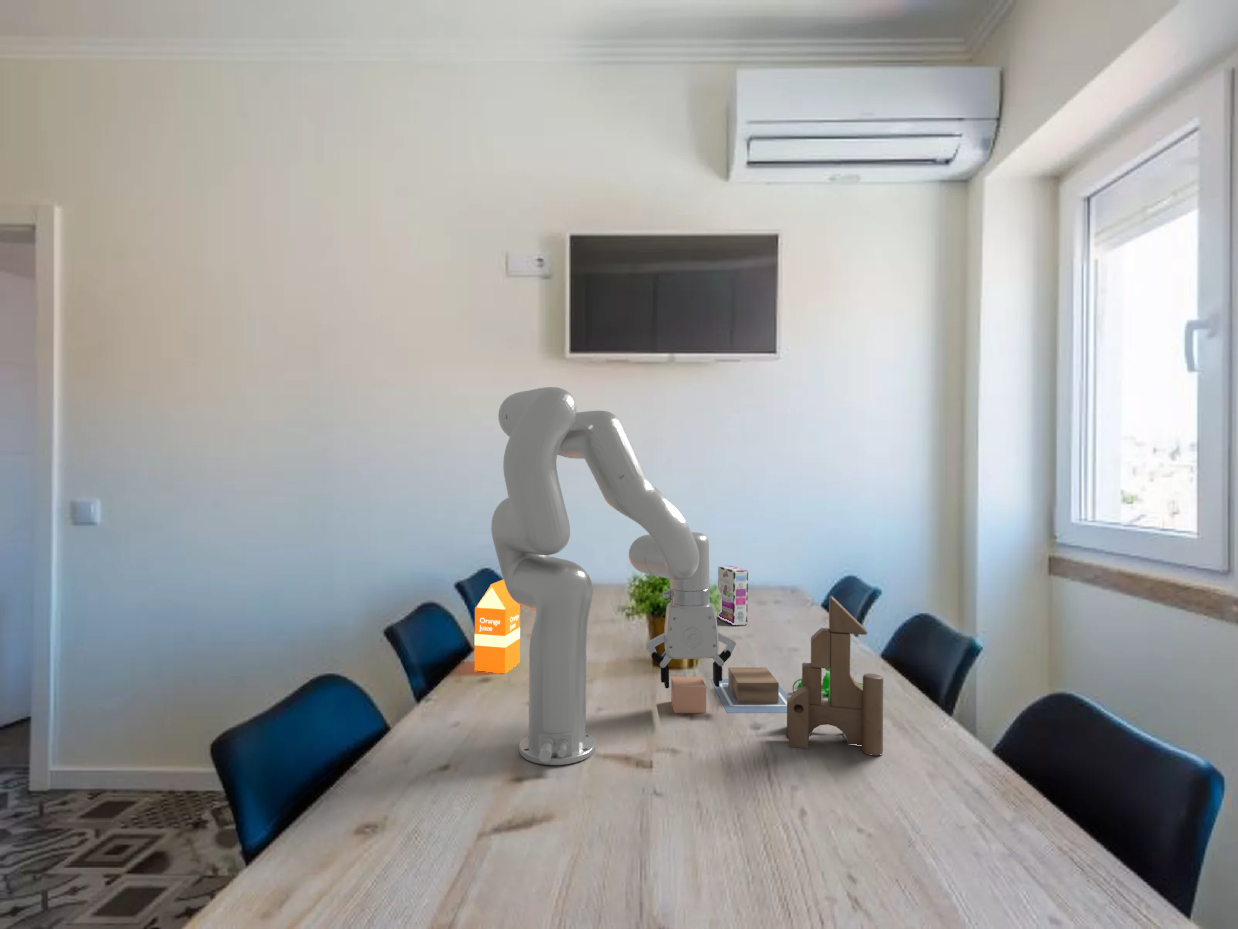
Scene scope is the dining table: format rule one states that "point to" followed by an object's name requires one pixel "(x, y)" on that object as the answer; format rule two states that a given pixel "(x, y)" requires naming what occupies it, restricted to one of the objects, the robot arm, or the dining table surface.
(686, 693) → the terracotta cube
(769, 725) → the dining table surface
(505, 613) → the orange juice
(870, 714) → the wooden toy
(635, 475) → the robot arm
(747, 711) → the blueprint board
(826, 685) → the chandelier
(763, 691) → the walnut base
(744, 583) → the candy bar box
